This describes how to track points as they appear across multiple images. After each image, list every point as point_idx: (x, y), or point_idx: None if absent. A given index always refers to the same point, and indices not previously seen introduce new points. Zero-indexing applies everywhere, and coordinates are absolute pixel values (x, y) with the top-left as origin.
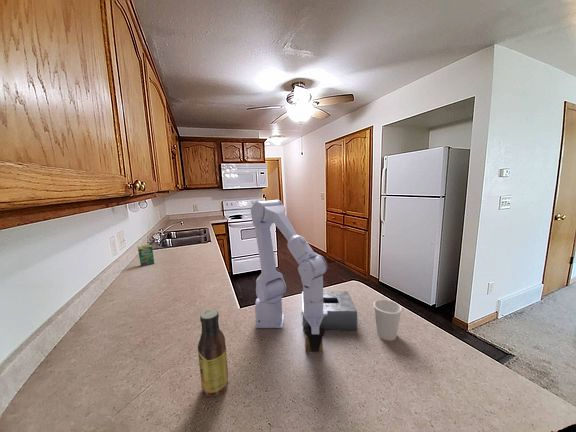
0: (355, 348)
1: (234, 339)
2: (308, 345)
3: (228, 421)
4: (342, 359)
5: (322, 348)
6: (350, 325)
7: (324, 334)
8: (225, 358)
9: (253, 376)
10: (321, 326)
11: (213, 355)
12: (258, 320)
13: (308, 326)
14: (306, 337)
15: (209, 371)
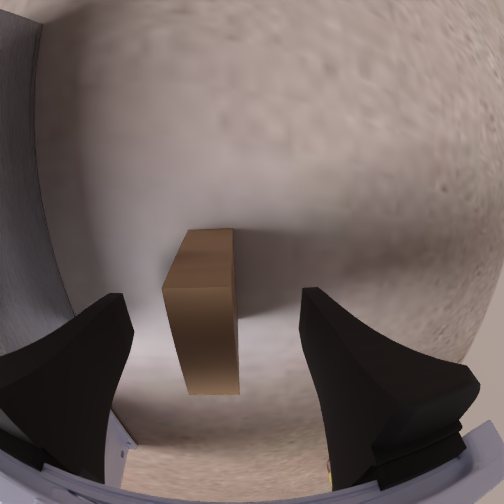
0: (186, 16)
1: (201, 468)
2: (237, 333)
3: None
4: (291, 108)
5: (232, 240)
6: (16, 50)
7: (470, 370)
8: None
9: None
10: (31, 237)
11: None
12: (123, 458)
13: (120, 376)
14: (238, 385)
15: None
